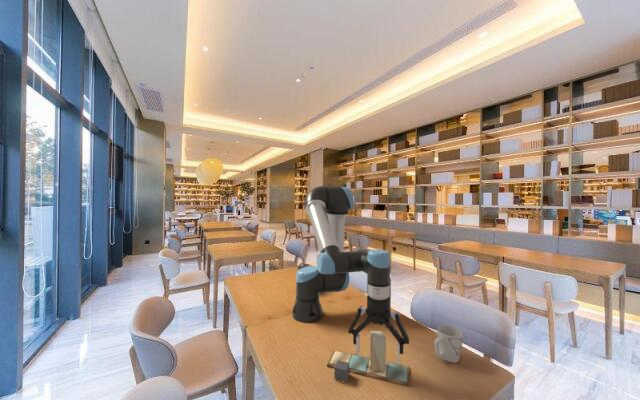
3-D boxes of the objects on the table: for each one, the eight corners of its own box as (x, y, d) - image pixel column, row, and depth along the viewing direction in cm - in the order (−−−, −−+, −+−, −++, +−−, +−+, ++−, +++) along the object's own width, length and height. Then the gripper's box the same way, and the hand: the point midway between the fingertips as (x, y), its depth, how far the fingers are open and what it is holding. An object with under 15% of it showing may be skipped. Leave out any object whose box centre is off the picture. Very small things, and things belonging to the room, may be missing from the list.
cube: (334, 379, 81) (334, 367, 81) (337, 371, 85) (337, 360, 85) (346, 383, 80) (346, 370, 80) (349, 374, 84) (349, 362, 84)
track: (326, 366, 87) (326, 363, 87) (334, 351, 96) (334, 349, 96) (409, 386, 78) (409, 383, 78) (409, 368, 87) (409, 365, 87)
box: (369, 361, 89) (369, 330, 89) (381, 361, 89) (381, 330, 89) (373, 372, 84) (373, 338, 83) (385, 371, 84) (386, 338, 84)
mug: (445, 369, 86) (445, 340, 86) (425, 355, 94) (426, 329, 94) (467, 361, 91) (468, 333, 91) (447, 348, 99) (447, 323, 99)
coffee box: (299, 287, 164) (299, 263, 164) (309, 288, 164) (309, 263, 164) (297, 293, 155) (297, 267, 155) (308, 293, 155) (308, 267, 154)
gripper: (340, 294, 87) (339, 356, 87) (417, 305, 78) (416, 373, 78) (345, 287, 94) (344, 344, 94) (416, 297, 85) (416, 359, 85)
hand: (377, 357), depth 86 cm, fingers open, 13 cm apart
